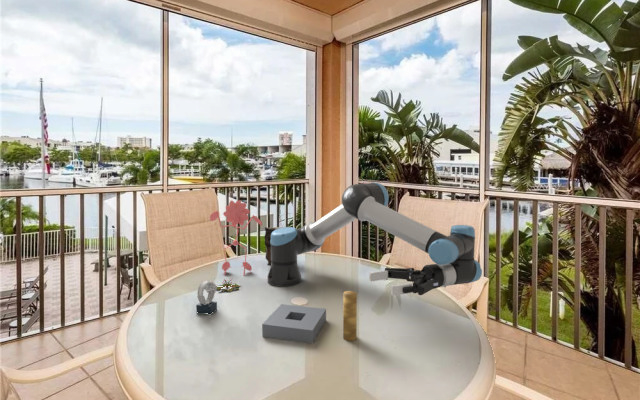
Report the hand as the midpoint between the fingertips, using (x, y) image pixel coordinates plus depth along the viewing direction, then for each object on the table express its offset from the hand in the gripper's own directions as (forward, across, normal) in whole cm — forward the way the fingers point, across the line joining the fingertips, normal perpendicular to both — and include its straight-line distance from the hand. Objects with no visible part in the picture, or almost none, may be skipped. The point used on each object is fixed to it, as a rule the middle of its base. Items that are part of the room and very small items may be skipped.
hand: (379, 283), depth 109 cm
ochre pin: (+10, 0, -16) cm, 19 cm away
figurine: (+33, +80, -15) cm, 88 cm away
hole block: (+24, +12, -16) cm, 31 cm away
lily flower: (+41, +58, -16) cm, 72 cm away
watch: (+50, +36, -16) cm, 63 cm away
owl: (+11, +86, -15) cm, 88 cm away
